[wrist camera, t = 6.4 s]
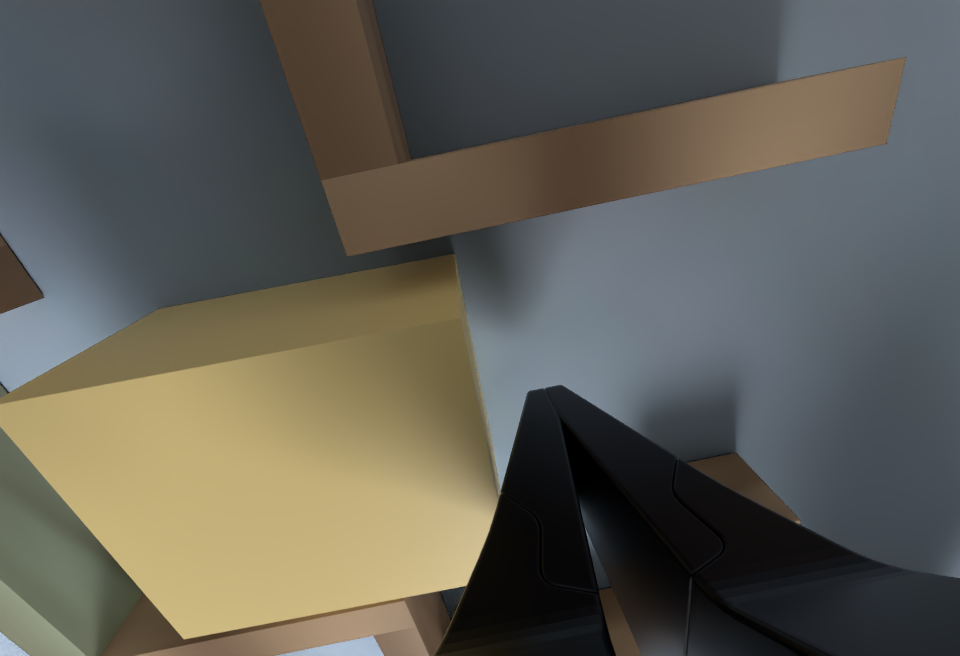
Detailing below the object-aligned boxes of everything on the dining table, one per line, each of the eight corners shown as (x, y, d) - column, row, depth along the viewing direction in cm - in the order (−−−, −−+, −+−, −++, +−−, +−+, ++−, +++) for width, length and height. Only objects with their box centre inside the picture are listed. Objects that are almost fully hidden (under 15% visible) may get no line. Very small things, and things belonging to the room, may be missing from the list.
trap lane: (828, -354, 6) (1073, -675, 4) (721, 584, 15) (769, 659, 13) (-474, -69, 6) (-1038, -203, 4) (220, 685, 15) (182, 778, 13)
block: (454, 251, 9) (460, 318, 6) (492, 445, 12) (513, 576, 8) (162, 306, 9) (-17, 407, 6) (263, 489, 12) (184, 639, 8)
